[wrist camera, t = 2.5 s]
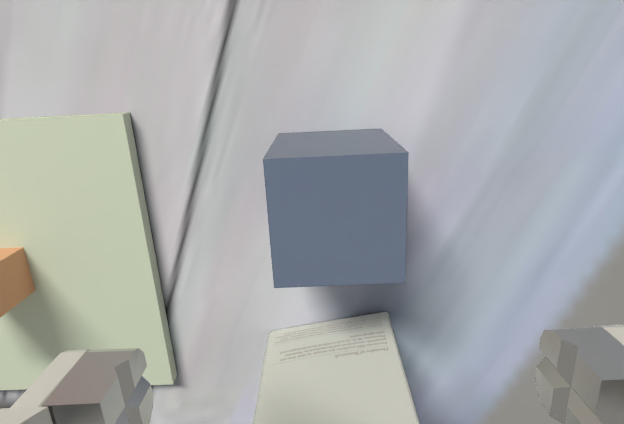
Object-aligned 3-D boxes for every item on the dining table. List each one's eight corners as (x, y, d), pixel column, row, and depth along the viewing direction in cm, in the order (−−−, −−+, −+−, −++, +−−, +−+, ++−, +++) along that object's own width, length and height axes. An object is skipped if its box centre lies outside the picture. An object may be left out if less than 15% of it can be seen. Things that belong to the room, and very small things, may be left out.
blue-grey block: (381, 128, 21) (408, 152, 15) (380, 225, 23) (405, 282, 17) (278, 133, 21) (263, 159, 15) (285, 229, 23) (274, 288, 17)
